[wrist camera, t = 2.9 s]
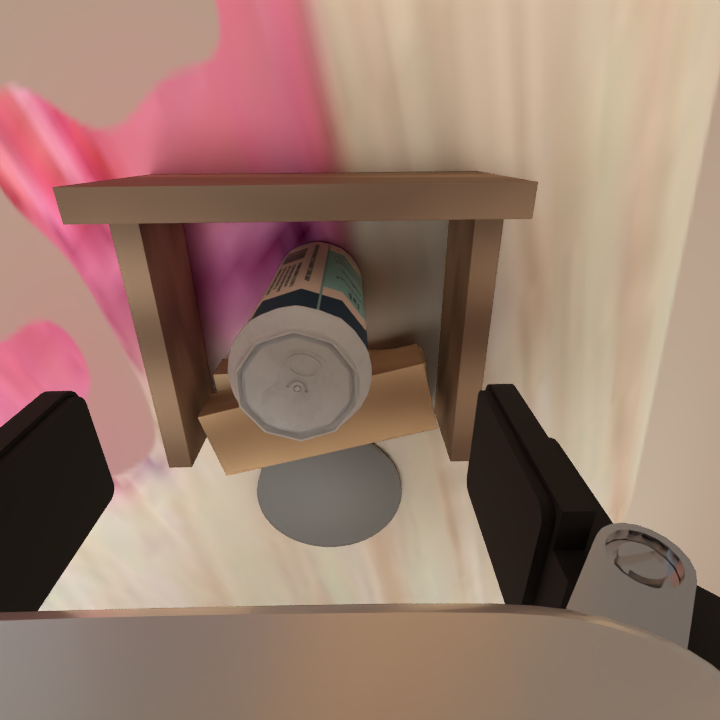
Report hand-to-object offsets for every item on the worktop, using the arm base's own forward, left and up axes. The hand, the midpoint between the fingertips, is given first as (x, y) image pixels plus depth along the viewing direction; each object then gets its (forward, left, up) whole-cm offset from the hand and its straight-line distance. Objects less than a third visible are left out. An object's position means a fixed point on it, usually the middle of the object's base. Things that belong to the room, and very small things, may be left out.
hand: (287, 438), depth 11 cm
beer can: (0, 0, -16) cm, 15 cm away
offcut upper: (-7, 0, -13) cm, 15 cm away
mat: (-15, 0, -15) cm, 22 cm away
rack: (-2, 0, -15) cm, 15 cm away
